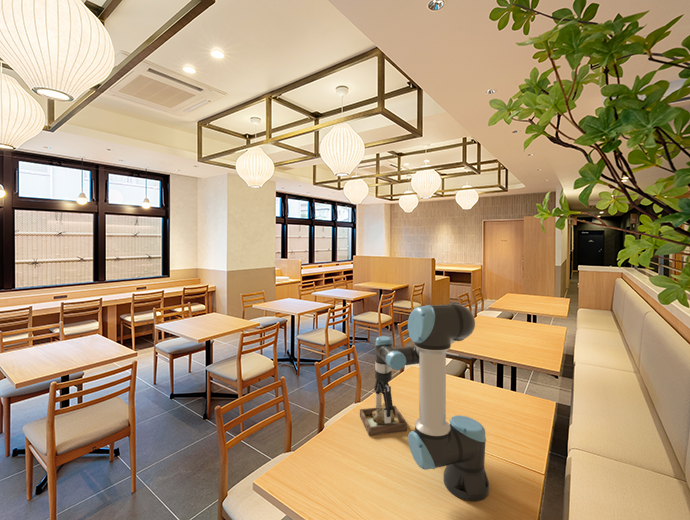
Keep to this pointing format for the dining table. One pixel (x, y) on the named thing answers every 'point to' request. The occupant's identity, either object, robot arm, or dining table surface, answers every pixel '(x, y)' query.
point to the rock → (381, 415)
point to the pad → (372, 423)
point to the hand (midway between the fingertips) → (382, 414)
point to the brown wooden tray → (383, 428)
